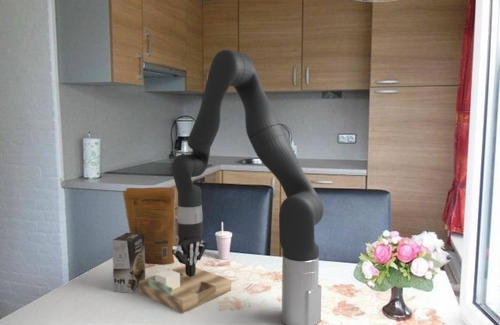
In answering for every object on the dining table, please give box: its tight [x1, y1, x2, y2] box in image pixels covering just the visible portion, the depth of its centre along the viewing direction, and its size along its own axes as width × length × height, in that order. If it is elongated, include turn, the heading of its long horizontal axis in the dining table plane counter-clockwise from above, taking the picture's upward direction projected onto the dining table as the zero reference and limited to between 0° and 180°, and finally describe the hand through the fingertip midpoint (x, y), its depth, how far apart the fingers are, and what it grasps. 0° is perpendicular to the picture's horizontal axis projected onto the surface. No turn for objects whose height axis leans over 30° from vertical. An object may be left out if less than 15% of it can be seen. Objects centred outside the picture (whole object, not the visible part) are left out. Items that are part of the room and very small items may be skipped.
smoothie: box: [214, 221, 233, 261], centre depth 152 cm, size 6×6×14 cm
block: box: [154, 268, 180, 290], centre depth 117 cm, size 5×5×4 cm
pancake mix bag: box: [122, 187, 177, 266], centre depth 146 cm, size 7×19×28 cm, turn 79°
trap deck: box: [138, 265, 232, 314], centre depth 122 cm, size 20×19×6 cm
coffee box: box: [112, 232, 146, 294], centre depth 125 cm, size 9×6×16 cm
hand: (190, 275), depth 123 cm, fingers closed
